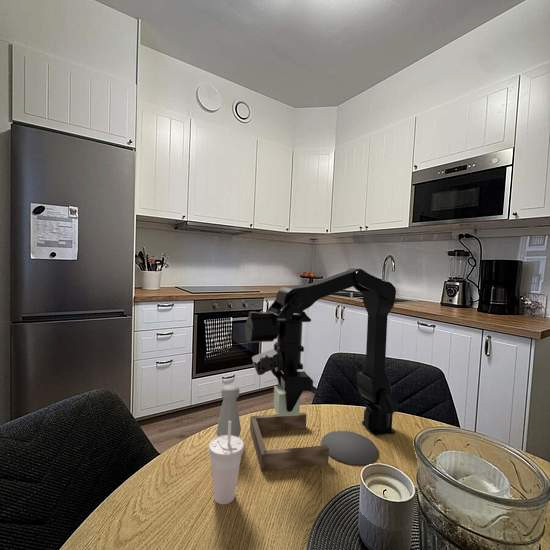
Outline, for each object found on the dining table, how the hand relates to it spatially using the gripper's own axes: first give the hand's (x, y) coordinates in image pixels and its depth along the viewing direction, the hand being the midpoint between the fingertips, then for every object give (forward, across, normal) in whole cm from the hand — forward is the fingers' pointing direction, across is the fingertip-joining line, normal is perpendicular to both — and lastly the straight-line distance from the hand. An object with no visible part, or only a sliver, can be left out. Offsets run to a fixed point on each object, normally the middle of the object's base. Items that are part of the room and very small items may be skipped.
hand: (286, 406), depth 73 cm
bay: (+9, 0, 0) cm, 9 cm away
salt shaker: (+10, -4, -13) cm, 17 cm away
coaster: (+9, +3, +15) cm, 18 cm away
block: (+1, 0, 0) cm, 1 cm away
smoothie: (+10, +14, -15) cm, 23 cm away
